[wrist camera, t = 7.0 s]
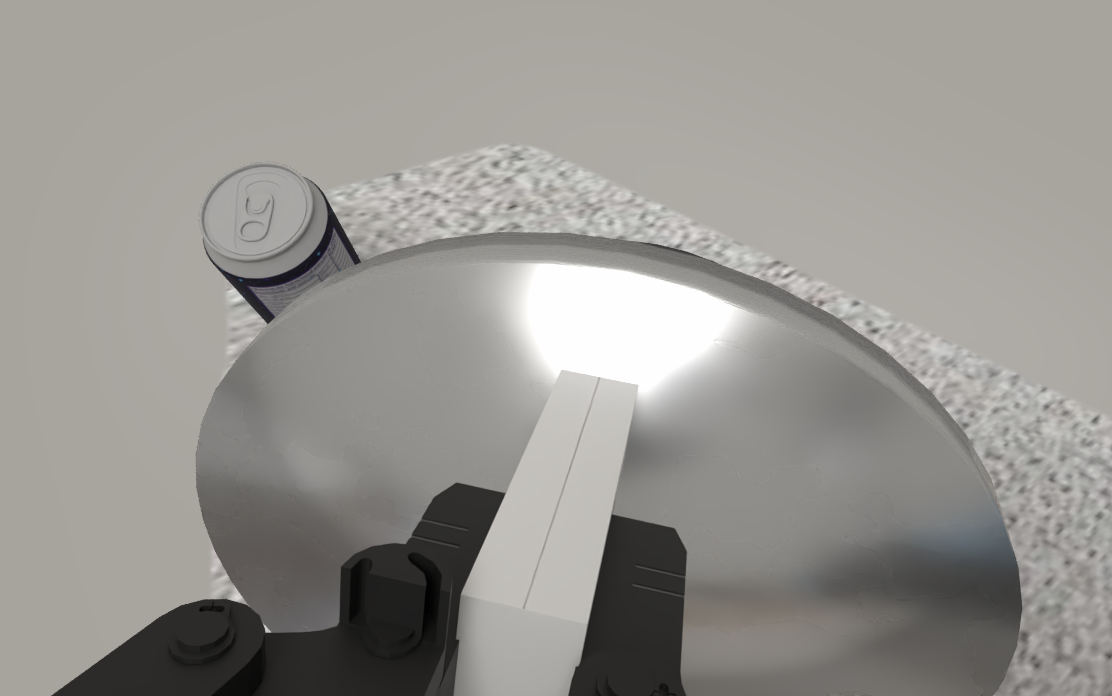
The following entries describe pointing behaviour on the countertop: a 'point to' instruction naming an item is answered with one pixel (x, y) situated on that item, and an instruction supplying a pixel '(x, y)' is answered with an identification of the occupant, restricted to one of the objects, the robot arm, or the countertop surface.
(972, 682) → the lid
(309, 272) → the beverage can
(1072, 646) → the countertop surface
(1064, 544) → the countertop surface
